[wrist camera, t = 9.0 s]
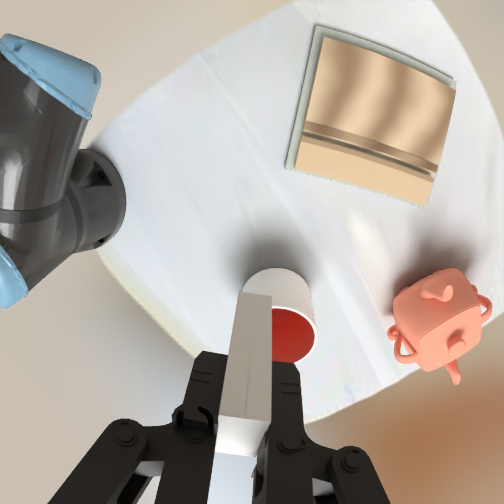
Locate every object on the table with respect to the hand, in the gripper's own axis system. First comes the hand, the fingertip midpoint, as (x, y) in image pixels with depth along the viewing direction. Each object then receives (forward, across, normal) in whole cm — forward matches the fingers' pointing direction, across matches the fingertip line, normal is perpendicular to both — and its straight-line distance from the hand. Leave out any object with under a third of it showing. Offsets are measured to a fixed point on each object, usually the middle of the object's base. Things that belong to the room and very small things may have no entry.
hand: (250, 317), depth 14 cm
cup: (+25, +4, -15) cm, 30 cm away
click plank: (+24, +13, +14) cm, 30 cm away
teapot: (+25, +29, -12) cm, 40 cm away
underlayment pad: (+25, +13, +12) cm, 31 cm away
